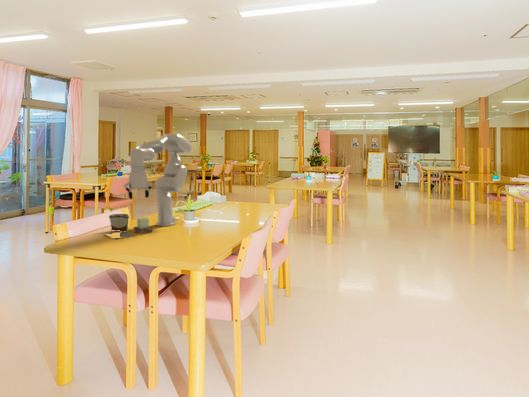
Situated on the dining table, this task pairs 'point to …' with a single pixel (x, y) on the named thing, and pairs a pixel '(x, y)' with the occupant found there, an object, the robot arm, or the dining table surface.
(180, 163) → the robot arm
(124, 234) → the charcoal mat
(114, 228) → the food container
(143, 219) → the sage block
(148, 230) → the walnut holder
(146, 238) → the dining table surface
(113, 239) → the dining table surface
